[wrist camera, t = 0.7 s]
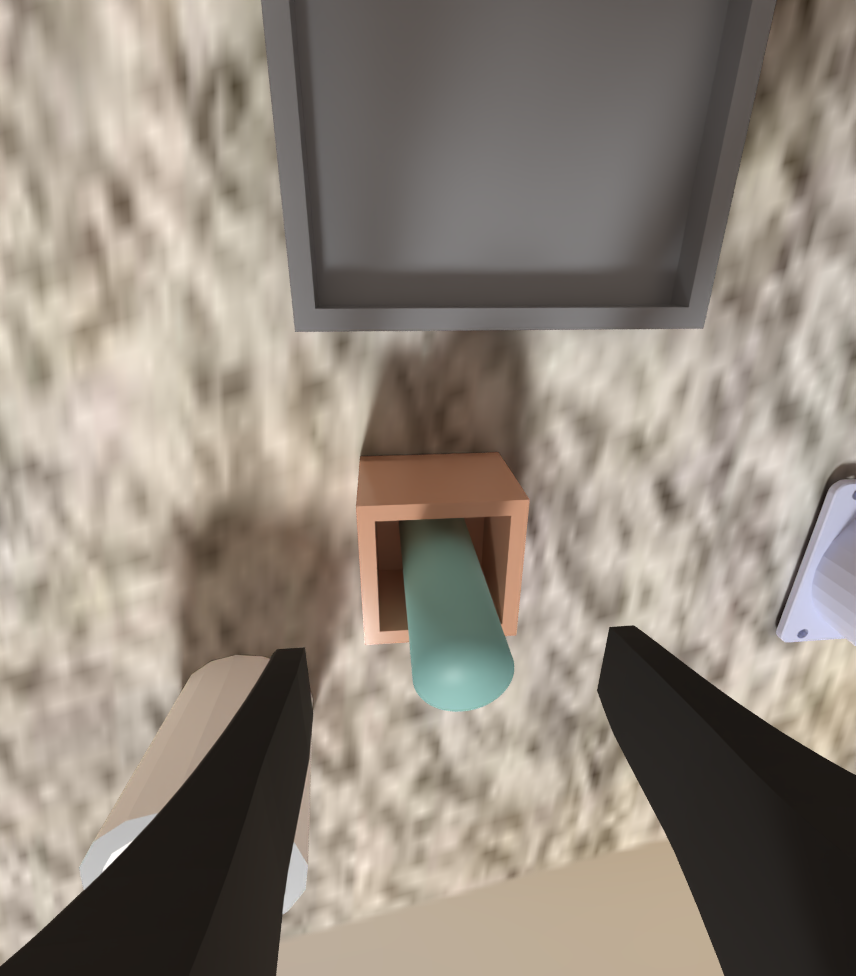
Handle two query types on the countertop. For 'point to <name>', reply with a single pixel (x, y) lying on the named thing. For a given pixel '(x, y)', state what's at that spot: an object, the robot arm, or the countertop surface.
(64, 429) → the countertop surface
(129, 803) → the white short cylinder
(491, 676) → the pin
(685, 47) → the tray
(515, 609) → the open box
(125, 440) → the countertop surface
